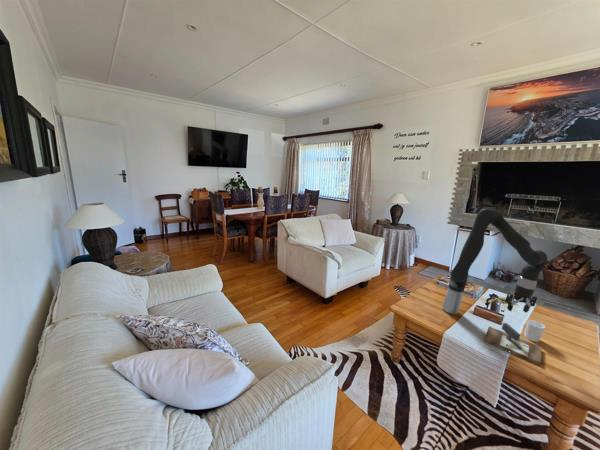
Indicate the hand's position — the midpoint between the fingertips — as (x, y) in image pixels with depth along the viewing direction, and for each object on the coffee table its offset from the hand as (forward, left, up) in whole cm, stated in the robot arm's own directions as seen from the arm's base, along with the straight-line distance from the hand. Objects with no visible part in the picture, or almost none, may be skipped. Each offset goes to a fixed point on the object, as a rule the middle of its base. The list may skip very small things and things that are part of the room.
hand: (517, 310), depth 138 cm
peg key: (+1, -1, -19) cm, 19 cm away
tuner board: (+2, -2, -21) cm, 21 cm away
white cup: (+10, +16, -21) cm, 29 cm away
